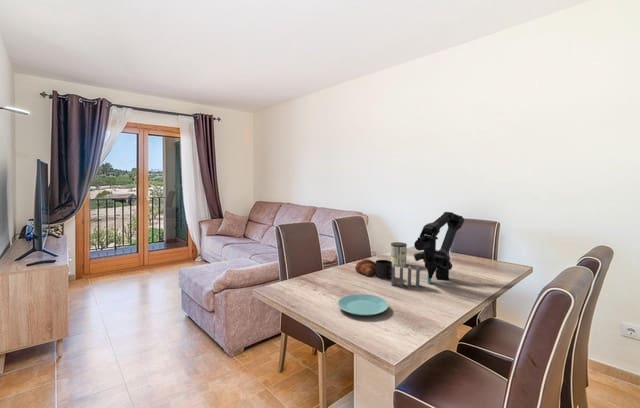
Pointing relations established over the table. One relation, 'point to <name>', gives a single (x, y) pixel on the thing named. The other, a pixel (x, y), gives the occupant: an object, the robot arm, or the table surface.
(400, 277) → the domino
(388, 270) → the mug
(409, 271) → the domino
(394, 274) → the domino
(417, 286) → the domino
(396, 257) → the coffee can
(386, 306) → the plate
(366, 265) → the pastry
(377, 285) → the table surface
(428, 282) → the domino
